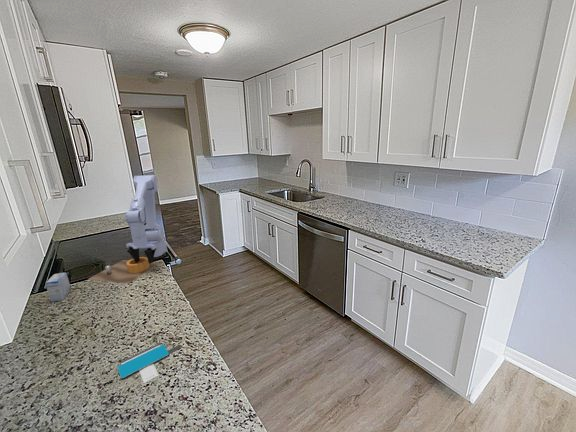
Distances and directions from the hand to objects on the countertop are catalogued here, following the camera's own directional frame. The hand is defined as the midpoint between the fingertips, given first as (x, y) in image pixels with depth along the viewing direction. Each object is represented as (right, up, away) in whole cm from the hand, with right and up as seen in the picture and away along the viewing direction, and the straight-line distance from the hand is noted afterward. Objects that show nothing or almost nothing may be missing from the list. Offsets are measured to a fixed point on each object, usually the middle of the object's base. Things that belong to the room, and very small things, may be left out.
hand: (144, 262), depth 126 cm
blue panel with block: (+29, -21, -52) cm, 63 cm away
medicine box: (-26, -11, -16) cm, 32 cm away
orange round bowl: (-4, -3, +2) cm, 5 cm away
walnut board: (-9, -5, +1) cm, 11 cm away
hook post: (-15, -5, -2) cm, 16 cm away
